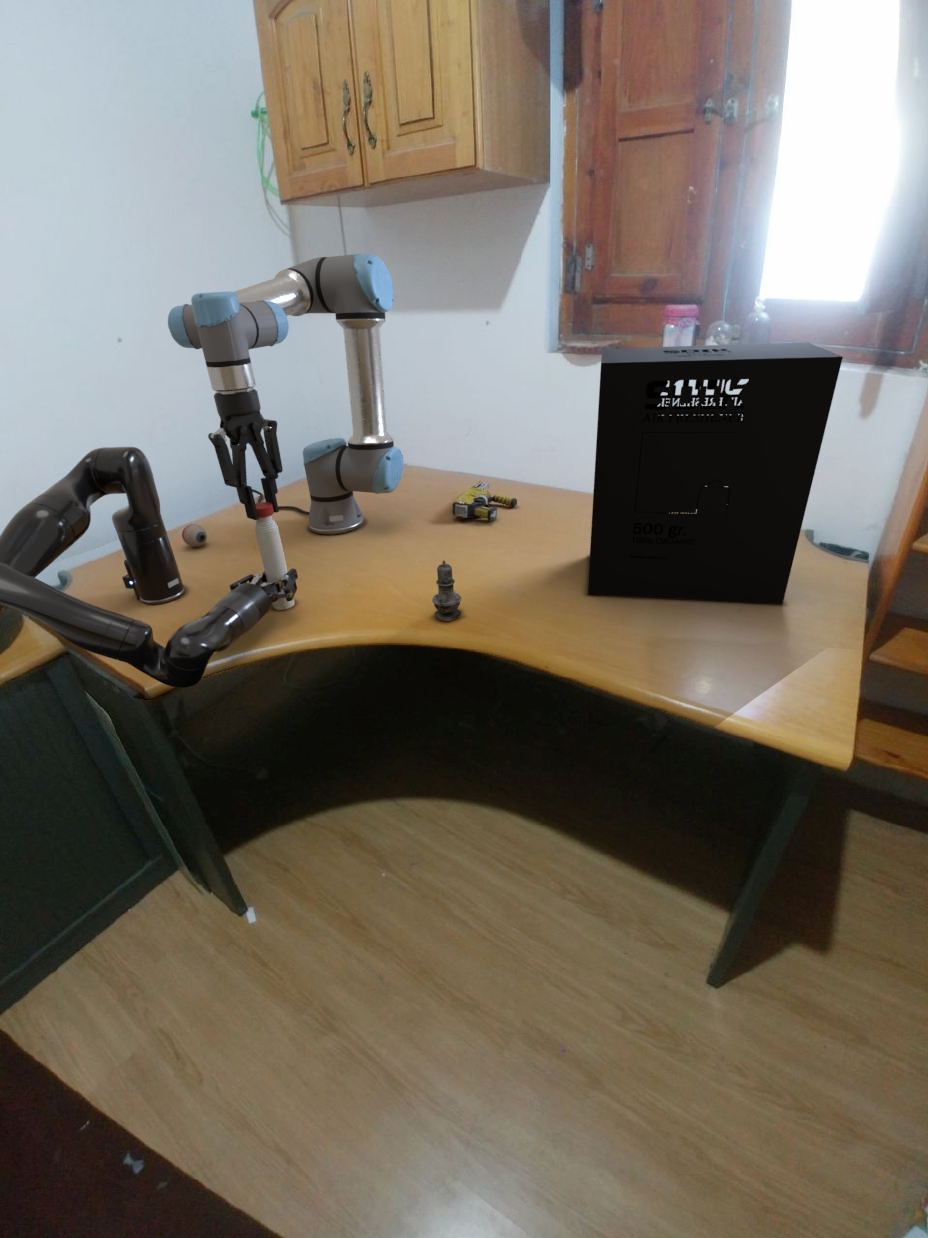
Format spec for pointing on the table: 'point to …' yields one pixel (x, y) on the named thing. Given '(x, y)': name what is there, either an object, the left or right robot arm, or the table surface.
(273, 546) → the bottle
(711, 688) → the table surface
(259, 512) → the cap
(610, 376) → the cardboard box
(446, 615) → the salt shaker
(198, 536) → the eyeball
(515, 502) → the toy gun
